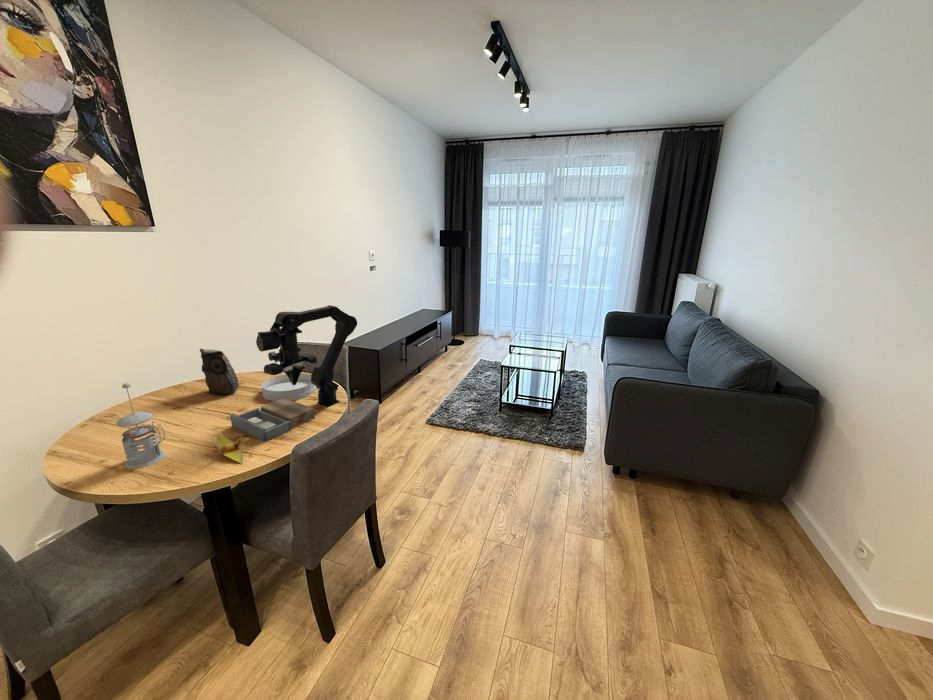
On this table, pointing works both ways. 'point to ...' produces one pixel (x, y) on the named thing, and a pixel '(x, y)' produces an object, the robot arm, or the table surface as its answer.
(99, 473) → the table surface
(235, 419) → the box
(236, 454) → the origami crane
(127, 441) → the french press
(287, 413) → the taupe pedestal platform
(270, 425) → the sage tile
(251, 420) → the cream tile
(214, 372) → the owl
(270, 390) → the dish
